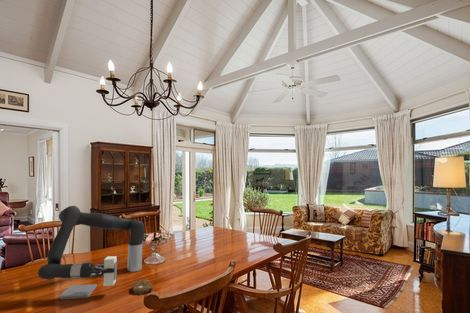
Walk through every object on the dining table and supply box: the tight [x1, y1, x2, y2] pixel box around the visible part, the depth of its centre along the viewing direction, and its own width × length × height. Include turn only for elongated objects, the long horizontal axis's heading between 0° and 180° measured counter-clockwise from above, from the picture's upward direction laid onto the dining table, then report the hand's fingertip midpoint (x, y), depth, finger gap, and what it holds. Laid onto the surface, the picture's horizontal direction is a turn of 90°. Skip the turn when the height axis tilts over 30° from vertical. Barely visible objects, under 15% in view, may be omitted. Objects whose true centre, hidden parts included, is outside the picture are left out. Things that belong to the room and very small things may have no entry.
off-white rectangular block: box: [103, 255, 118, 287], centre depth 145 cm, size 5×5×14 cm
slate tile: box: [58, 283, 98, 300], centre depth 147 cm, size 14×14×1 cm
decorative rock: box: [131, 278, 154, 296], centre depth 152 cm, size 11×4×15 cm
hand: (115, 268), depth 146 cm, fingers closed on off-white rectangular block, 5 cm apart
